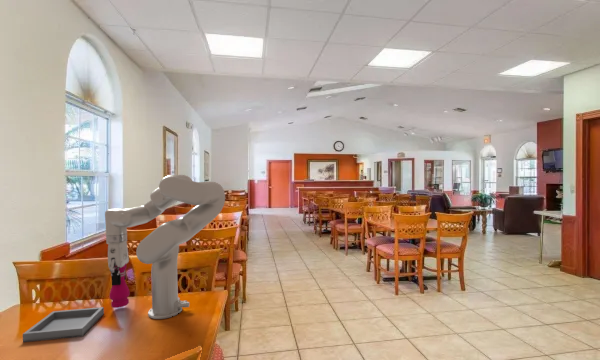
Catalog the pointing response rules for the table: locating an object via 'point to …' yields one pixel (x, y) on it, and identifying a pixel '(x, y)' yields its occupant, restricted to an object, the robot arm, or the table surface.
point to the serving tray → (64, 324)
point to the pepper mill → (120, 291)
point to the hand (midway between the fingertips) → (119, 282)
